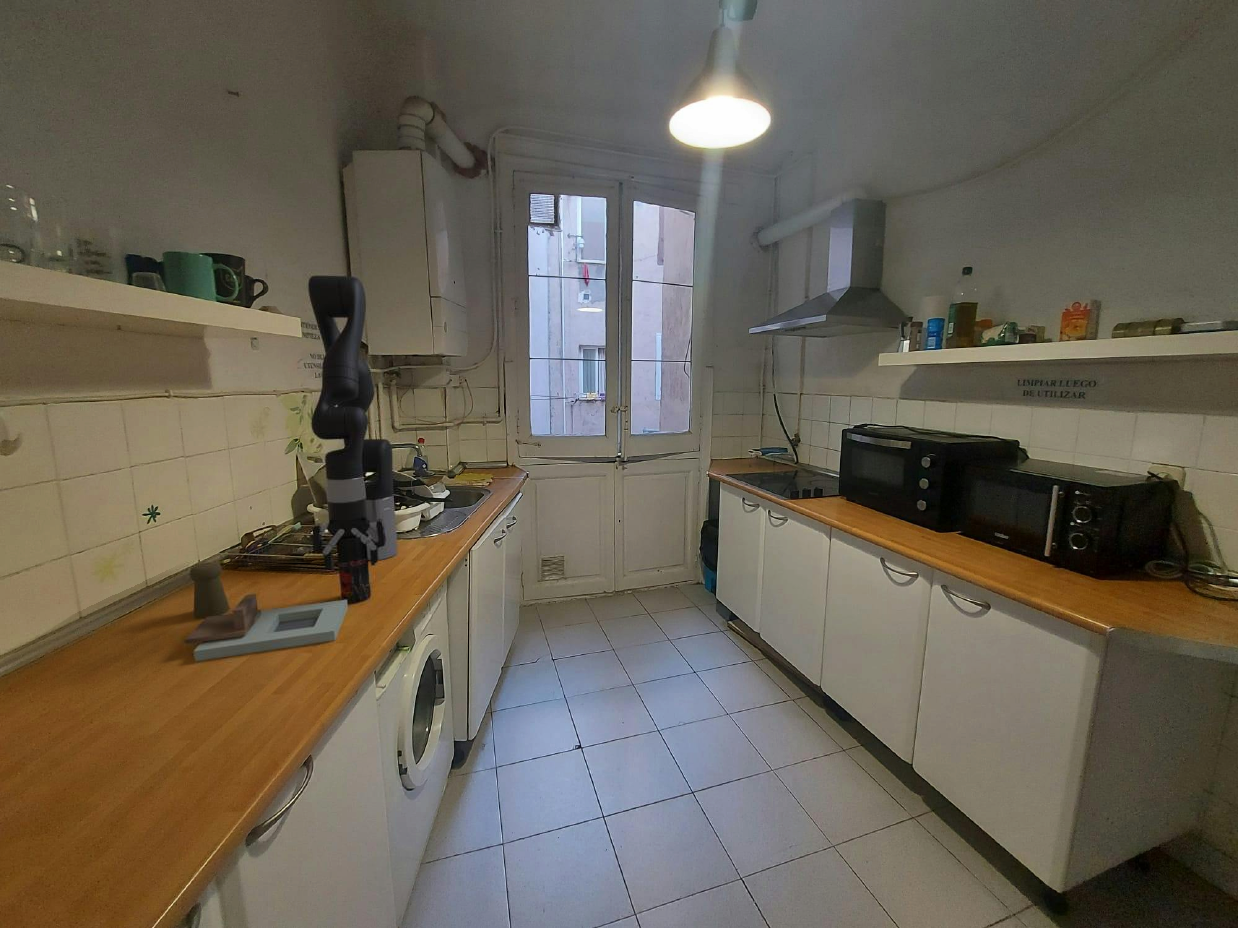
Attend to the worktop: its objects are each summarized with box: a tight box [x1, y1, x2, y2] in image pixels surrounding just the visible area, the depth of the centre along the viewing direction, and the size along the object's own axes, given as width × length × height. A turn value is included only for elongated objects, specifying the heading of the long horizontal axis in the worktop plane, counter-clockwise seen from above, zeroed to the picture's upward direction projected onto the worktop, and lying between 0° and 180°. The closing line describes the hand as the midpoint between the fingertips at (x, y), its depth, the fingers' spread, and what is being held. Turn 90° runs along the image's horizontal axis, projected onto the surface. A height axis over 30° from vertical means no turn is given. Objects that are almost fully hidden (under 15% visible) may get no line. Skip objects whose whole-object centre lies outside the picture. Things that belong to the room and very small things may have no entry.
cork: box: [189, 561, 231, 620], centre depth 103 cm, size 6×6×11 cm
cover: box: [184, 593, 262, 645], centre depth 93 cm, size 9×9×5 cm
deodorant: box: [335, 533, 372, 605], centre depth 111 cm, size 6×6×15 cm
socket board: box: [193, 599, 349, 662], centre depth 97 cm, size 14×22×2 cm, turn 110°
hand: (352, 566), depth 110 cm, fingers open, 8 cm apart
